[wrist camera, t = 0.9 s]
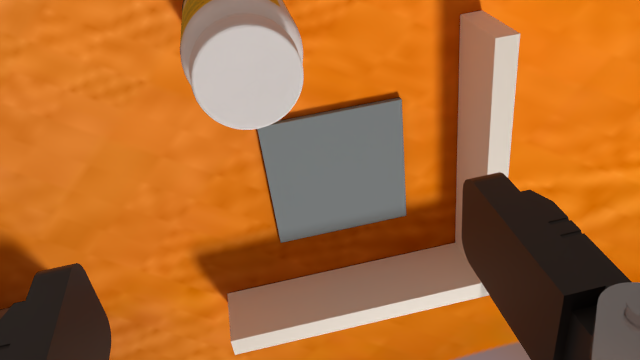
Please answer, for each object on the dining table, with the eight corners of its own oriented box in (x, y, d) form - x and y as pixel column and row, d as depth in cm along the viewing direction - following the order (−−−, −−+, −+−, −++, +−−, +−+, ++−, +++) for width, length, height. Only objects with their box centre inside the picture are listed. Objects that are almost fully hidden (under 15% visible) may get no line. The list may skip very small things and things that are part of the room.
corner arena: (482, 10, 28) (520, 33, 25) (471, 252, 38) (498, 292, 34) (161, 68, 27) (156, 101, 24) (231, 306, 36) (235, 354, 33)
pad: (399, 97, 30) (401, 99, 30) (404, 212, 35) (406, 215, 34) (256, 125, 29) (257, 127, 29) (280, 239, 34) (280, 242, 34)
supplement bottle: (160, 8, 25) (147, 73, 18) (236, -62, 24) (253, -21, 18) (231, 80, 28) (243, 162, 21) (302, 19, 27) (340, 84, 20)
